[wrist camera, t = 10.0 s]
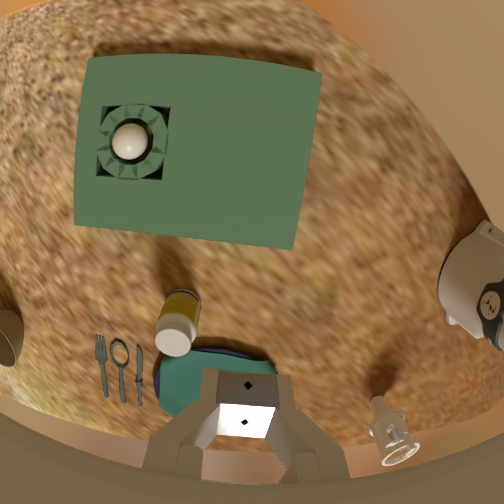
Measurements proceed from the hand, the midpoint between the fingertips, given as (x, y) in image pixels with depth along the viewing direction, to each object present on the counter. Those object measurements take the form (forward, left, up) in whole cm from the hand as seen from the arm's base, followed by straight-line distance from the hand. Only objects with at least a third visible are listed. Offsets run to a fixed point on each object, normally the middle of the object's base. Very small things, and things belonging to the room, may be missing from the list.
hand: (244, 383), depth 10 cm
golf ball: (+13, -7, -24) cm, 28 cm away
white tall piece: (-30, +32, -26) cm, 51 cm away
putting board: (+7, -7, -26) cm, 28 cm away
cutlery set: (+5, +28, -27) cm, 39 cm away
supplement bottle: (+6, +13, -26) cm, 30 cm away
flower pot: (+38, +23, -26) cm, 51 cm away
